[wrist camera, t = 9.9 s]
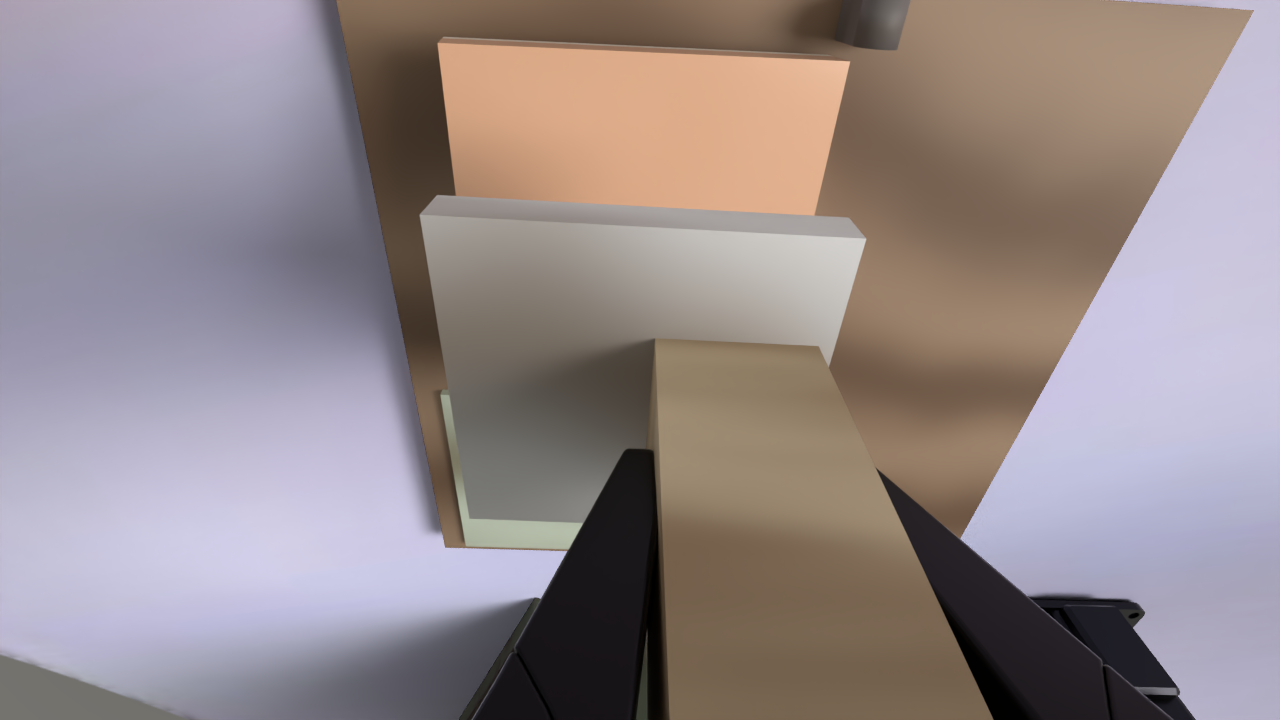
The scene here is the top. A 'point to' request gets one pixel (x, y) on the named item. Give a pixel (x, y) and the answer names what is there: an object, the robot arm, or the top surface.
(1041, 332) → the board
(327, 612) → the top surface
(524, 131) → the tile
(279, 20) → the top surface
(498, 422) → the stamp
